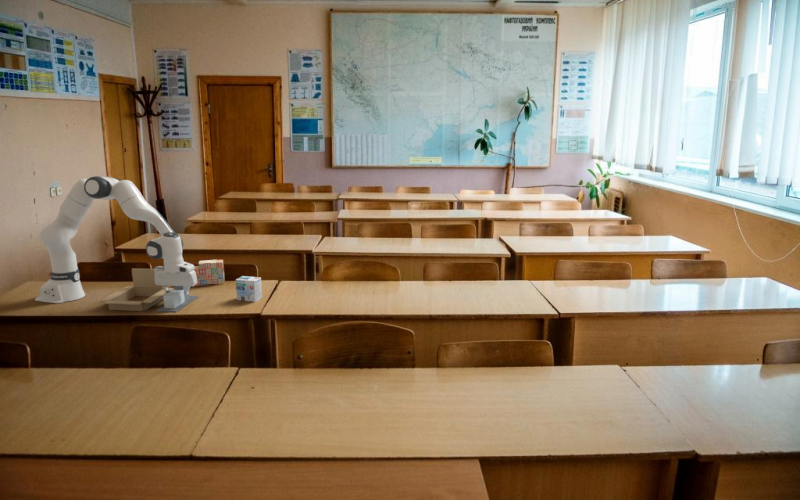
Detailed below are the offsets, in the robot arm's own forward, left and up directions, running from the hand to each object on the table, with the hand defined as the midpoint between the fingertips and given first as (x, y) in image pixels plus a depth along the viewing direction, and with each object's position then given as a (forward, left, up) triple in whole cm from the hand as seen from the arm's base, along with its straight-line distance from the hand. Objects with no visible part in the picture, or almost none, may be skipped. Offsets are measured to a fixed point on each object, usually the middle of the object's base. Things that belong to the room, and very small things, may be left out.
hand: (177, 294), depth 286 cm
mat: (0, 0, -5) cm, 5 cm away
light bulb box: (+32, +11, -5) cm, 34 cm away
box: (0, 0, -4) cm, 4 cm away
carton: (-20, -2, -5) cm, 21 cm away
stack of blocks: (-2, +33, -5) cm, 33 cm away
